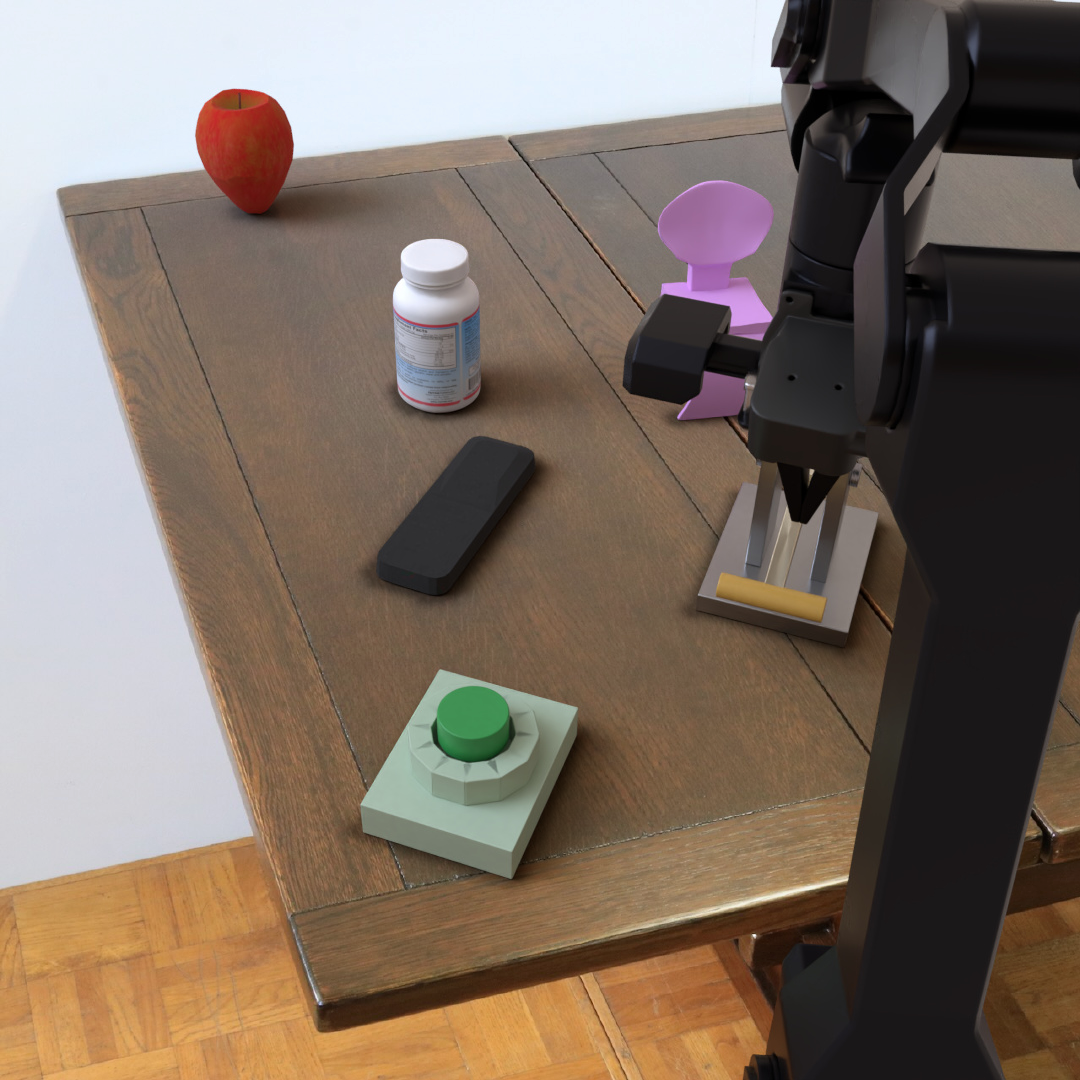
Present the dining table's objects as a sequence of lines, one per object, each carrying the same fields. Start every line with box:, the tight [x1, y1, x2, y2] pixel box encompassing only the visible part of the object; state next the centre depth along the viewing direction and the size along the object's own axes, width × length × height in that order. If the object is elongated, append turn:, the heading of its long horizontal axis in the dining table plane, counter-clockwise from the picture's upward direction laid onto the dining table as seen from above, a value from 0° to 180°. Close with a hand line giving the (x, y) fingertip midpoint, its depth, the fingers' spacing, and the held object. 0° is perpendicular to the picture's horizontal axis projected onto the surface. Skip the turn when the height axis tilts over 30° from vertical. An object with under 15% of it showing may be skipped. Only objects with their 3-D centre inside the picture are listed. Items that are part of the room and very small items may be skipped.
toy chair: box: [657, 179, 775, 421], centre depth 94 cm, size 8×9×15 cm
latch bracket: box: [695, 458, 880, 648], centre depth 80 cm, size 12×9×10 cm
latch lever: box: [716, 469, 827, 623], centre depth 76 cm, size 11×6×2 cm, turn 160°
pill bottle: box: [392, 238, 482, 414], centre depth 93 cm, size 6×6×11 cm
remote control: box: [375, 435, 537, 596], centre depth 85 cm, size 5×2×15 cm
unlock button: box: [437, 686, 509, 762], centre depth 66 cm, size 4×4×2 cm
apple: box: [194, 88, 295, 215], centre depth 115 cm, size 9×8×11 cm
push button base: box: [360, 668, 579, 880], centre depth 68 cm, size 10×8×4 cm
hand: (800, 518), depth 68 cm, fingers closed
